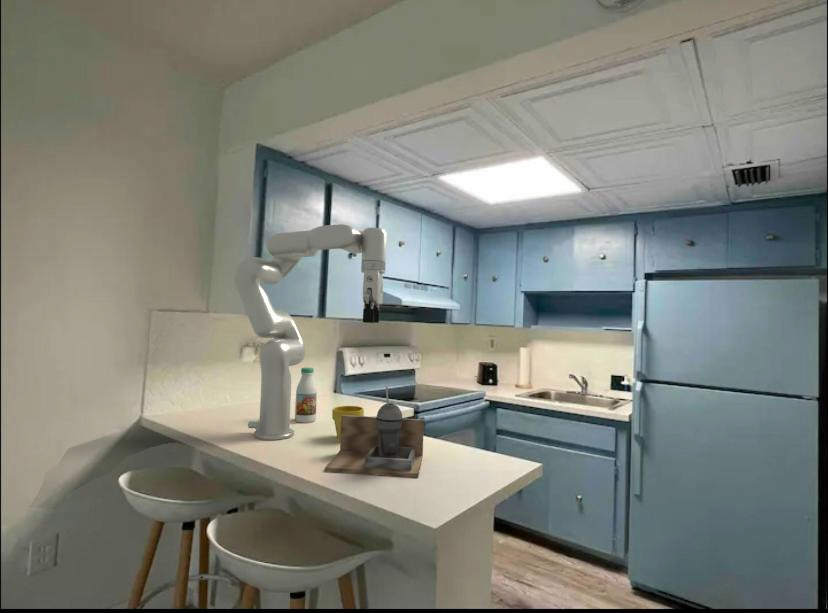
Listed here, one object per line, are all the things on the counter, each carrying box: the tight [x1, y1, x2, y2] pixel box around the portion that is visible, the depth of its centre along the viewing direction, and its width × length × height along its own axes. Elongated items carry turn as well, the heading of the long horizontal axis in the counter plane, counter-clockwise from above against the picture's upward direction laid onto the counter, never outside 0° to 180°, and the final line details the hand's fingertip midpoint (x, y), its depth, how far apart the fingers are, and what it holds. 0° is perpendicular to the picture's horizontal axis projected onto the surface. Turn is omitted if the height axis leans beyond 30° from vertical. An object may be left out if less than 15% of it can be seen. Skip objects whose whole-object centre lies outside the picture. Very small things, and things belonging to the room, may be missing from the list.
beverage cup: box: [375, 386, 403, 458], centre depth 121 cm, size 7×7×20 cm
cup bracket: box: [324, 415, 425, 478], centre depth 121 cm, size 24×16×11 cm, turn 85°
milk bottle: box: [294, 367, 318, 424], centre depth 168 cm, size 8×8×20 cm
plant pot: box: [331, 405, 365, 441], centre depth 146 cm, size 10×10×10 cm
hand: (371, 322), depth 138 cm, fingers open, 9 cm apart
